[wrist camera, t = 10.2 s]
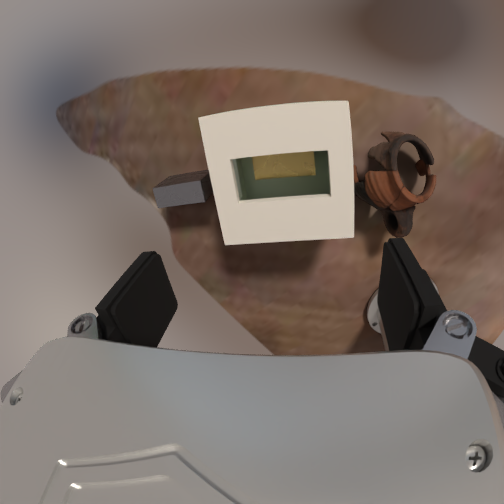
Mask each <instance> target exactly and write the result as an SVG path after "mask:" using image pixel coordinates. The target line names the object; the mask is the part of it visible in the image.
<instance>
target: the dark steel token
mask: <svg viewBox="0 0 504 504" xmlns="http://www.w3.org/2000/svg"><path fill="white" fill-rule="evenodd" d="M153 192H154V195H155V199H156V202H157V206H158V208H163V207H170V206H178V205H185V204H193V203H201V202H205V201H206V200H207V199H208V198H209V196H210V195H211V194H212V193H213V188H212V183H211V179H210V174H209V170H203V171H197V172H191V173H185V174H179V175H174V176H169V177H168V178H166V179H165V180H164V181H162V182H161V183H159V184H158V185H157V186H155V187H154V188H153Z"/></svg>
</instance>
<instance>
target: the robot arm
mask: <svg viewBox="0 0 504 504" xmlns="http://www.w3.org/2000/svg"><path fill="white" fill-rule="evenodd" d="M177 305H178V304H177V300H176V298H175V295H174V292H173V290H172V287H171V284H170V281H169V279H168V276H167V273H166V270H165V268H164V265H163V262H162V259H161V256H160V255H159V254H157V253H156V252H155V251H150V252H143V253H141V255H140V256H139V257H138V258H137V259H136V260H135V261H134V262H133V264H132V265H131V266H130V267H129V268H128V269H127V271H126V272H125V273H124V274H123V275H122V276H121V277H120V279H119V280H118V281H117V282H116V283H115V284H114V286H113V287H112V288H111V289H110V291H109V292H108V293H107V294H106V295H105V296H104V298H103V299H102V300H101V301H100V303H99V304H98V305H97V307H96V308H95V309H96V311H97V313H98V317H97V318H96V316H95V315H94V314H92V313H86V314H82V315H80V316H78V317H77V318H75V319H74V320H73V321H72V322H71V324H70V325H69V327H68V336H67V337H63V338H59V339H55V340H52V341H50V342H47V343H46V344H44V345H43V346H42V347H41V348H40V349H39V350H38V351H37V353H36V354H35V355H34V356H33V357H32V359H31V360H30V361H29V363H28V364H27V365H26V367H25V368H24V369H23V370H22V371H21V372H20V373H18V374H17V375H16V376H15V377H13V378H12V379H11V380H10V381H9V382H7V383H6V384H5V385H4V387H3V388H2V391H1V400H2V405H1V407H0V504H504V351H503V350H501V349H499V348H498V347H496V346H494V345H492V344H490V343H488V342H486V341H484V340H482V339H480V338H479V337H477V336H476V331H477V328H476V324H475V322H474V320H473V319H472V318H471V317H470V316H469V315H467V314H466V313H464V312H461V311H458V310H450V311H447V310H446V308H445V306H444V304H443V302H442V300H441V298H440V296H439V293H438V289H437V287H436V285H435V283H434V282H433V281H432V280H431V279H430V278H429V276H428V274H427V272H426V271H425V270H423V269H422V268H421V267H420V265H419V263H418V262H417V260H416V258H415V256H414V255H413V253H412V251H411V250H410V248H409V247H408V245H407V243H406V242H405V240H404V239H403V238H390V239H389V240H388V242H385V243H384V247H383V257H382V267H381V275H380V283H379V289H378V290H377V291H376V292H375V293H374V294H373V296H372V297H371V299H370V301H369V303H368V307H367V318H368V321H369V324H370V326H371V327H372V328H373V329H374V330H375V331H376V332H378V333H380V334H382V339H383V343H384V347H385V351H382V352H365V353H350V354H328V355H245V354H226V353H210V352H197V351H185V350H175V349H165V348H157V346H158V344H159V342H160V340H161V338H162V336H163V335H164V333H165V331H166V329H167V327H168V325H169V323H170V321H171V319H172V317H173V315H174V314H175V312H176V310H177Z"/></svg>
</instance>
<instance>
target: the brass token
mask: <svg viewBox="0 0 504 504" xmlns="http://www.w3.org/2000/svg"><path fill="white" fill-rule="evenodd" d="M252 162H253V168H254V175H255V180H261V179H272V178H283V177H296V176H311V175H316V171H315V160H314V151H308V152H294V153H283V154H272V155H263V156H254V157H252Z"/></svg>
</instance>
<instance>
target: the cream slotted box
mask: <svg viewBox="0 0 504 504" xmlns="http://www.w3.org/2000/svg"><path fill="white" fill-rule="evenodd" d="M198 119H199V124H200V129H201V134H202V139H203V144H204V149H205V154H206V159H207V164H208V169H209V174H210V179H211V183H212V188H213V193H214V198H215V202H216V207H217V211H218V216H219V221H220V225H221V230H222V234H223V239H224V243H225V245H236V244H252V243H268V242H285V241H302V240H320V239H338V238H354V169H353V149H352V134H351V122H350V111H349V102H348V101H315V102H300V103H288V104H278V105H269V106H261V107H254V108H247V109H240V110H234V111H228V112H223V113H218V114H213V115H209V116H204V117H200V118H198ZM308 151H314V160H315V171H316V175H311V176H296V177H283V178H272V179H261V180H255V175H254V168H253V162H252V157H254V156H263V155H272V154H283V153H294V152H308Z"/></svg>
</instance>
